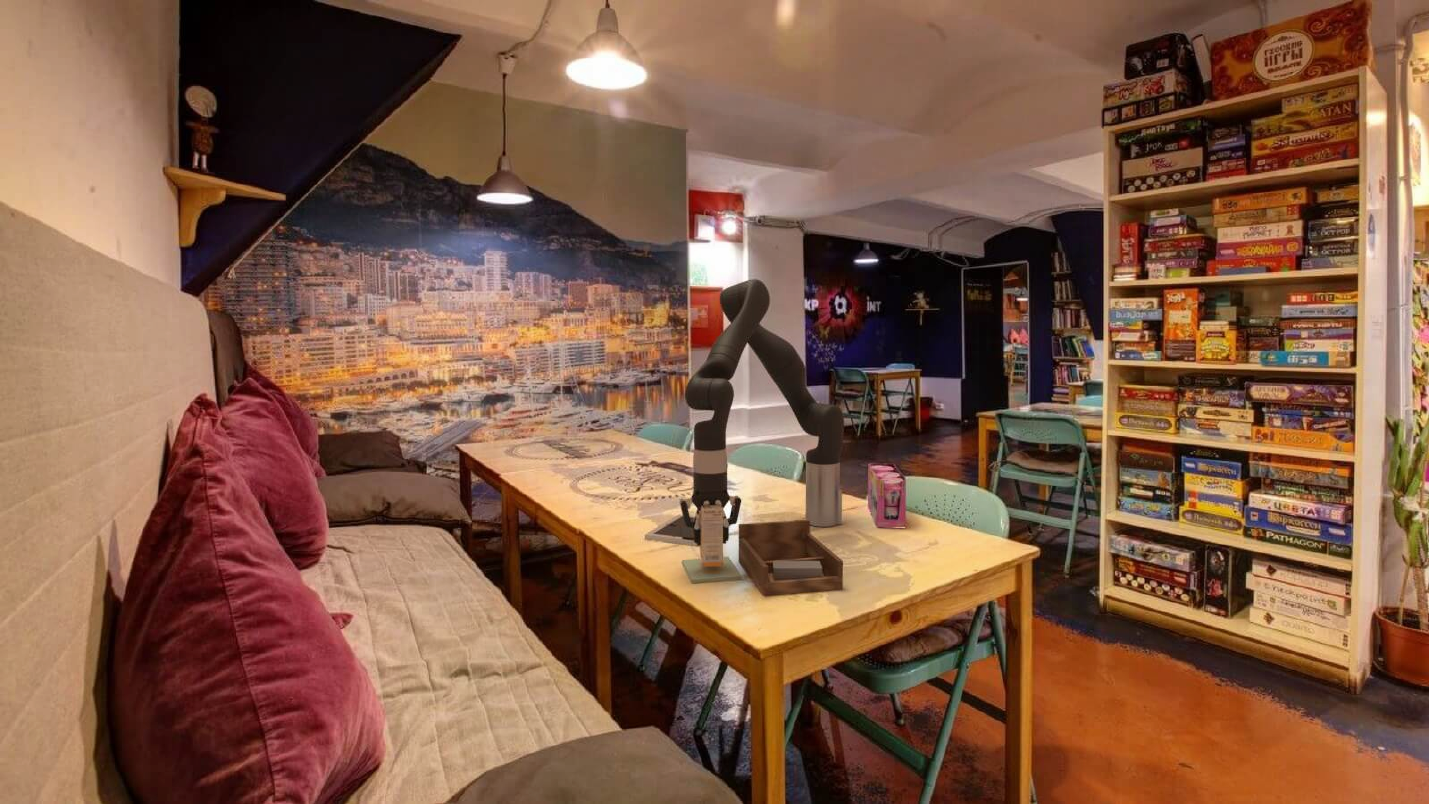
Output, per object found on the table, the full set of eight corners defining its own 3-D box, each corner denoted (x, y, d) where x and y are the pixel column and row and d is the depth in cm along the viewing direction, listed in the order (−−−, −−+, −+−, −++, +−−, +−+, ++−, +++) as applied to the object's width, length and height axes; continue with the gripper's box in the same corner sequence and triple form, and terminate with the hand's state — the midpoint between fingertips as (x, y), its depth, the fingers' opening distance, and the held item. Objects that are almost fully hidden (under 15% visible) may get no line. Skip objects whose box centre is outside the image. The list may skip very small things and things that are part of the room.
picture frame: (700, 549, 171) (730, 527, 190) (700, 538, 171) (730, 517, 190) (644, 542, 177) (678, 521, 196) (644, 531, 177) (678, 511, 196)
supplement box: (699, 555, 157) (698, 498, 156) (720, 554, 158) (719, 498, 156) (701, 567, 149) (701, 508, 148) (723, 566, 150) (723, 507, 148)
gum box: (907, 530, 184) (908, 480, 183) (877, 529, 185) (877, 480, 183) (893, 507, 208) (894, 463, 206) (866, 507, 208) (867, 462, 207)
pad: (728, 559, 161) (728, 556, 161) (741, 579, 149) (741, 575, 148) (681, 563, 159) (681, 560, 159) (691, 583, 146) (691, 579, 146)
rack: (808, 556, 163) (808, 519, 162) (842, 589, 143) (843, 546, 142) (738, 562, 160) (738, 524, 159) (763, 595, 139) (763, 552, 138)
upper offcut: (819, 572, 147) (819, 560, 147) (822, 580, 143) (822, 568, 143) (772, 572, 148) (772, 560, 147) (773, 579, 143) (773, 568, 143)
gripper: (737, 463, 157) (738, 536, 158) (675, 467, 154) (676, 541, 155) (746, 470, 149) (746, 546, 151) (680, 473, 146) (681, 551, 148)
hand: (710, 543), depth 153 cm, fingers closed on supplement box, 5 cm apart
